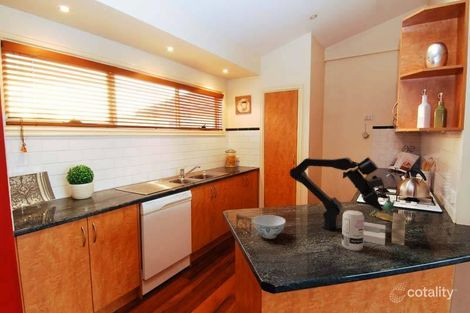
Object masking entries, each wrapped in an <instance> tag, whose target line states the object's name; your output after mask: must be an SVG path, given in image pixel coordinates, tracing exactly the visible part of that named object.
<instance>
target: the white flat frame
mask: <svg viewBox="0 0 470 313" xmlns="http://www.w3.org/2000/svg"><path fill="white" fill-rule="evenodd" d="M363 242H367V243H373V244H377V245H383V246H385V244H386V225H385V224H378V223H374V222H373V223H372V222H366V221H364V234H363Z"/></svg>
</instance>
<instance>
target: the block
mask: <svg viewBox="0 0 470 313" xmlns="http://www.w3.org/2000/svg"><path fill="white" fill-rule="evenodd" d="M392 217H393V222H392V228H391V244H395V245H399V246H400V245H401V246H405V235H406V234H405V233H406V220H407V219H406V218H407V217H406V214H404V213H399V212H398V213H397V212H393V213H392Z"/></svg>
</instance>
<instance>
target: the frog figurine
mask: <svg viewBox="0 0 470 313" xmlns="http://www.w3.org/2000/svg"><path fill="white" fill-rule="evenodd" d="M382 209H383V212H381V211H380V210H378V209H376V208H374V209H373V211H371V213H369V216H371V215H372V217H375V216H376V218H380V219H381V220H384V221H389V222H392V223H393V213H391V212H390V211H392V210H396V212H398V210H399V207H396V206H395V200H392V201H391V197H390V195H389V194H388V195H387V200H386V201H385V202H384V203H383V205H382ZM378 211H379V212H378ZM386 212H387V213H386ZM388 213H389V214H388Z"/></svg>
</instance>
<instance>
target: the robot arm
mask: <svg viewBox="0 0 470 313" xmlns="http://www.w3.org/2000/svg"><path fill="white" fill-rule="evenodd" d="M309 167H320V168H321V167H324V168H333V169H336V170H341V171H343V172H342V179H345V178H348V179H349V181H350V182H351V183H352V184H353V186H354V188H356V189H357V191H359V193H360V195H361V196H362V200H363V202H365V204H367V205H368V206H371V207H373V208H374V209H375V208H376V210H377V211H379V210H380V211H379V212H382V211H384V208H383V206H382V205H381V202H379V198H380V196H379V193H378V192H377V191H376V188H377V187H383V186H385V184H384V181H383V178H382V177H380V176H377V175H372V177H371V178H370V179H367V178H365V176H369V175H370V174H372V173H374V172H375V171H377V170H378V169H379V167H378V165H377V164H376V163H375V162H374V161H373V160H372V159H371V158H370V157H369V156H367V157H366V158H365V159H363V160H362V161H360V162H357V161H353V160H352V159H351V158H350V157H340V158H334V159H333V158H332V159H329V158H326V159H325V158H312V157H311V158H310V157H308V158H307V157H306V158H305V159H303V160H302V161H301V162H300V163H299V164H298V165H296V166H295V167H292V168H291V169H290V170H289V176H290V178H292V179H293V180H294V181H297V182H298V183H301V185H303V186H304V187H305V188H306V189H307V190H308V191H310V193H312V195H314V196H315V197H316V198H317V199H318V200H319V201H320V203H322V205H323V207H324V208H325V209H324V210H325V211H324V212H323V214H322V215H323V218H324V219H323V221H324V222H323V225H322V226H321V228H322V229H325V230H327V231H330V232H335V231H338V230H340V227H339V226H338V215H340V213H342V211H343V205H342V202H341V201H340V200H338V199H337V197H335V196H334V197H333V198H332V197H330V196H328V194H327V193H325V192H324V191H323V190H322V189H321V188H320V187H319V186H318V185H317V184H316V183H314V181H312V179H310V178H309V177H308V174H307V172H306V171H307V169H308V168H309ZM364 175H365V176H364ZM375 187H376V188H375ZM382 208H383V209H382Z"/></svg>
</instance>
